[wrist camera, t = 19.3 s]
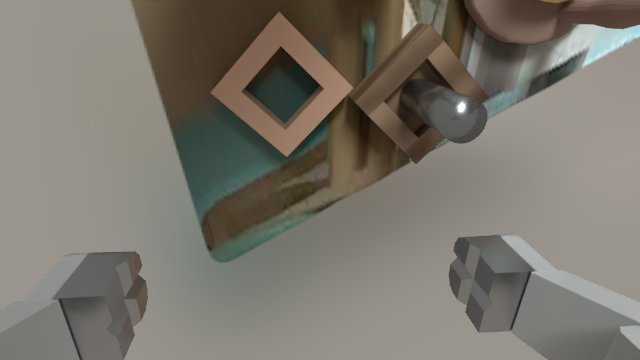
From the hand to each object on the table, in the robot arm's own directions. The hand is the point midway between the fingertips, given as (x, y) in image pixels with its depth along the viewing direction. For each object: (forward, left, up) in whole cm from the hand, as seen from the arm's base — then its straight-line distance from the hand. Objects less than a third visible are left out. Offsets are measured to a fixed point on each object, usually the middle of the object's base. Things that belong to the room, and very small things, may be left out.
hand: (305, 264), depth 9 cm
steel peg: (+13, +9, -33) cm, 37 cm away
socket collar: (+1, -1, -35) cm, 35 cm away
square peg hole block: (+13, +9, -35) cm, 38 cm away
